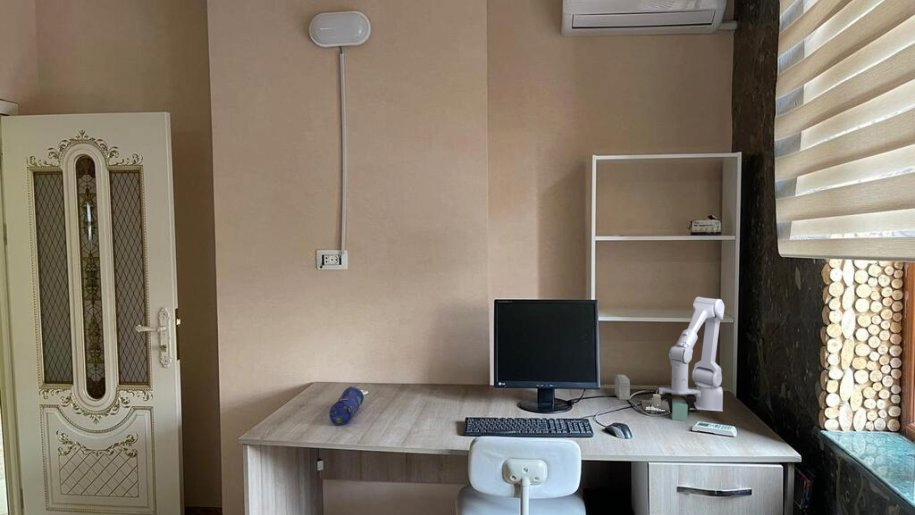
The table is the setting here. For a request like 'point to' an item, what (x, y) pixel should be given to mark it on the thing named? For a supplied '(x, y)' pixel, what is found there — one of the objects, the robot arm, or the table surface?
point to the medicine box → (622, 387)
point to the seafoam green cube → (679, 410)
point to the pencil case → (346, 406)
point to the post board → (663, 405)
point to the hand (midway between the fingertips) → (678, 413)
